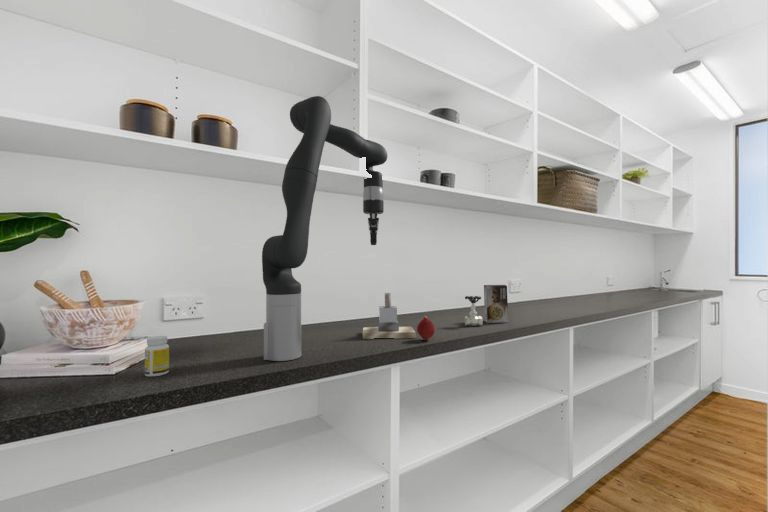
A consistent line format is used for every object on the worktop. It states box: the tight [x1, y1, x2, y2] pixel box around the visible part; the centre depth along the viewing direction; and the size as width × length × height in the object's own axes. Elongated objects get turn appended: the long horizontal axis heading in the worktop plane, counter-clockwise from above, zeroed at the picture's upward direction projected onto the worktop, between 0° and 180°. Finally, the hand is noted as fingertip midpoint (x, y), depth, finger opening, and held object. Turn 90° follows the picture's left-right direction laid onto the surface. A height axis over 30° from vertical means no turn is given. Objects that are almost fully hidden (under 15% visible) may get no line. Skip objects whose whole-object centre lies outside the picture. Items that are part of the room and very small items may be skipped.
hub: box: [378, 305, 398, 323], centre depth 127 cm, size 6×6×5 cm
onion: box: [416, 315, 436, 341], centre depth 117 cm, size 6×6×8 cm
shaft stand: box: [362, 292, 417, 340], centre depth 127 cm, size 18×12×15 cm, turn 93°
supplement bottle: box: [144, 335, 170, 378], centre depth 82 cm, size 5×5×8 cm
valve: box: [464, 295, 484, 327], centre depth 145 cm, size 7×7×12 cm
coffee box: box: [483, 284, 509, 324], centre depth 156 cm, size 9×6×16 cm
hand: (373, 244), depth 130 cm, fingers open, 8 cm apart
